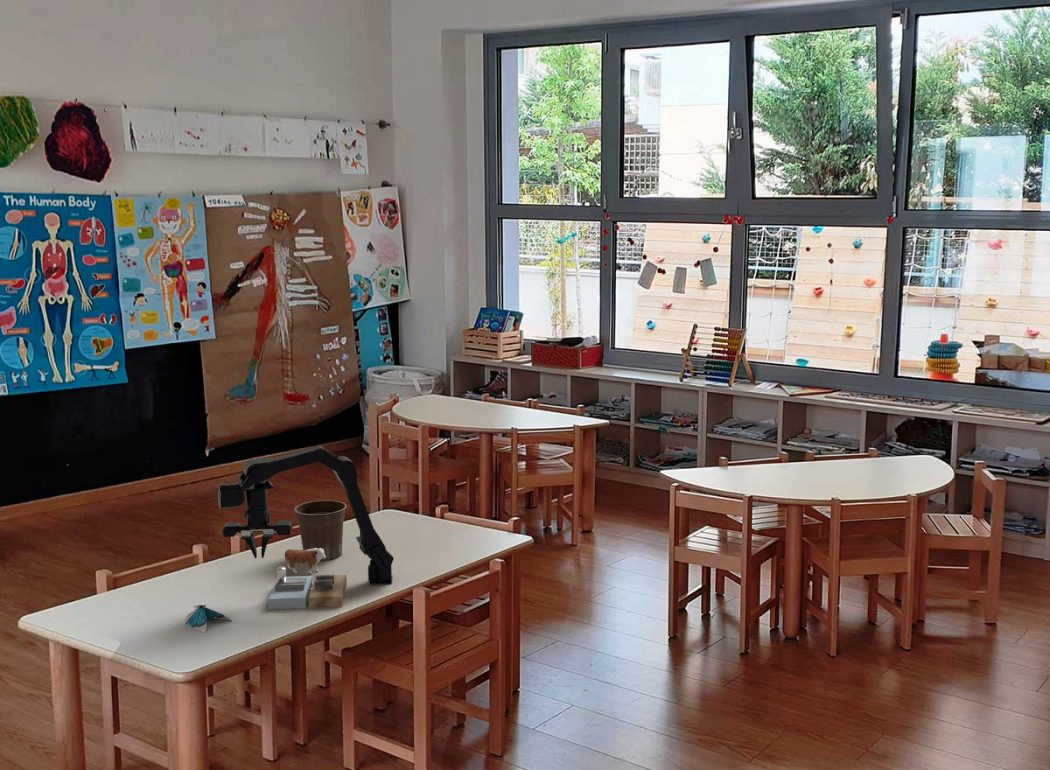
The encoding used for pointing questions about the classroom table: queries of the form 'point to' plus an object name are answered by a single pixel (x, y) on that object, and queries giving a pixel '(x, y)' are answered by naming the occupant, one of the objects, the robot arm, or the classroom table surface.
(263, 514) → the robot arm
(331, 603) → the jamb
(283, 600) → the door panel
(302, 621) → the classroom table surface
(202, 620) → the decorative butterfly
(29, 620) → the classroom table surface
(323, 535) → the plant pot
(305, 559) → the bull figurine
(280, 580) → the bolt
